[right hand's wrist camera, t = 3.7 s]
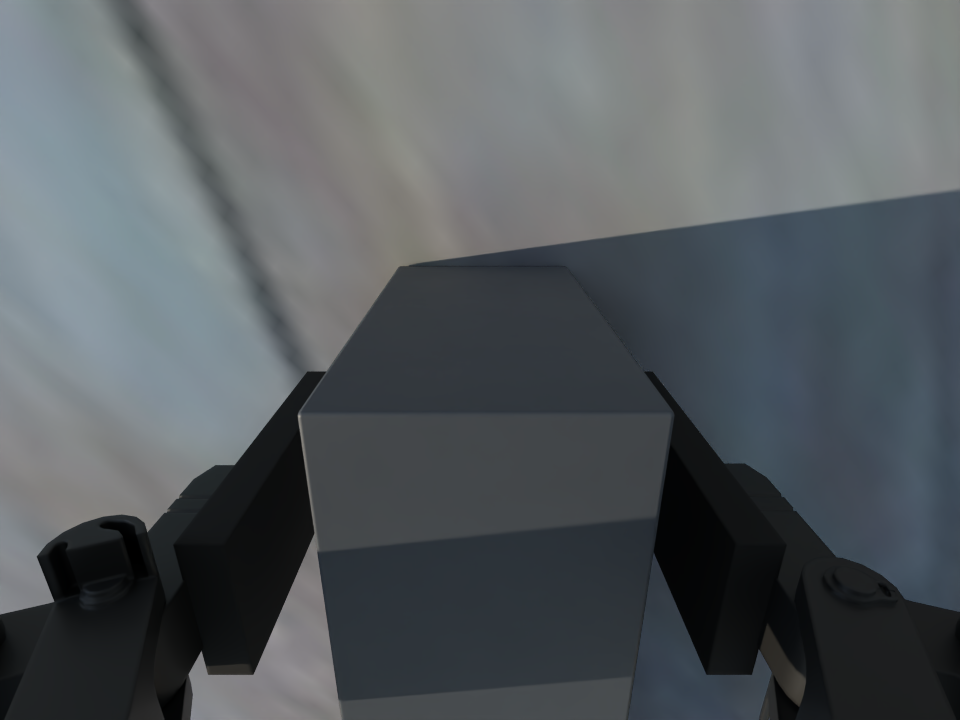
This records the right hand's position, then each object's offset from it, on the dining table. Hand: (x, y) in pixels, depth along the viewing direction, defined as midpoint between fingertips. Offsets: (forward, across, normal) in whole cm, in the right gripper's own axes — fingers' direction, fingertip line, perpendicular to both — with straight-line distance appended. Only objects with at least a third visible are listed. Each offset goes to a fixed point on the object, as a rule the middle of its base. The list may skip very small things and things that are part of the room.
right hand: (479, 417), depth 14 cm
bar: (+1, 0, -9) cm, 9 cm away
